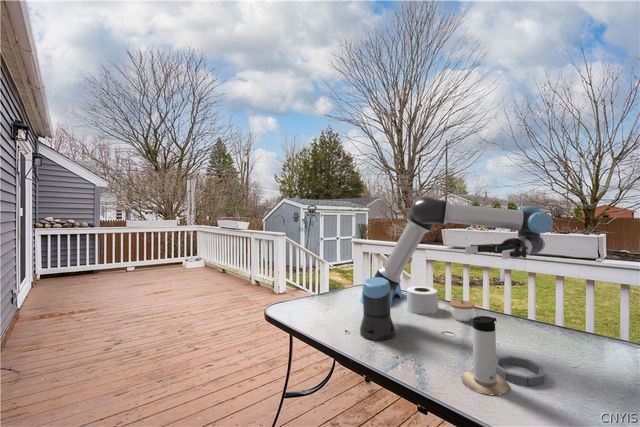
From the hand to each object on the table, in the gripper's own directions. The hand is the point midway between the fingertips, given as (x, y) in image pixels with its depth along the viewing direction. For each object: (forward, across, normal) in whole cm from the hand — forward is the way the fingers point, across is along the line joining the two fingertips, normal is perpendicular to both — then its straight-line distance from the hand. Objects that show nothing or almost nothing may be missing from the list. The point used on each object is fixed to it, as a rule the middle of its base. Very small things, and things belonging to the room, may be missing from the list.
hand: (483, 253), depth 111 cm
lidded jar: (-28, +28, -38) cm, 55 cm away
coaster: (+15, -8, -38) cm, 42 cm away
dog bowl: (-20, +77, -39) cm, 89 cm away
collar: (+1, -11, -38) cm, 40 cm away
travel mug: (+15, -9, -38) cm, 41 cm away
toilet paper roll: (-23, +49, -38) cm, 66 cm away
